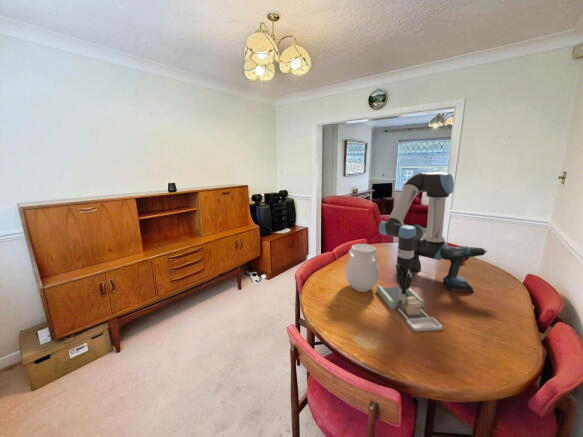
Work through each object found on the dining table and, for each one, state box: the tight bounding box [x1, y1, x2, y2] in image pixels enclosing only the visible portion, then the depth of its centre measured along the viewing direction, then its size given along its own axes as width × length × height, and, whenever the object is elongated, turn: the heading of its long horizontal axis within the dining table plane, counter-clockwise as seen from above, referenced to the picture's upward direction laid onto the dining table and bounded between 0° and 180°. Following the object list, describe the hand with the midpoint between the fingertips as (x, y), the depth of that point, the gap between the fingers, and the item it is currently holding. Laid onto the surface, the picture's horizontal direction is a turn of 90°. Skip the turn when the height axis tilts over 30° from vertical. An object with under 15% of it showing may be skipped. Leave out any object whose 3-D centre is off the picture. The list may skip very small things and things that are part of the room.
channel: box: [376, 284, 425, 310], centre depth 132 cm, size 18×17×4 cm
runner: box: [382, 286, 431, 322], centre depth 129 cm, size 30×13×1 cm, turn 4°
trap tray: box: [405, 316, 444, 333], centre depth 111 cm, size 7×13×2 cm, turn 94°
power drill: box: [440, 245, 488, 293], centre depth 140 cm, size 9×23×25 cm, turn 78°
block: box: [402, 296, 422, 315], centre depth 120 cm, size 6×6×6 cm
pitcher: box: [345, 243, 380, 293], centre depth 142 cm, size 19×18×25 cm
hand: (401, 298), depth 130 cm, fingers closed
